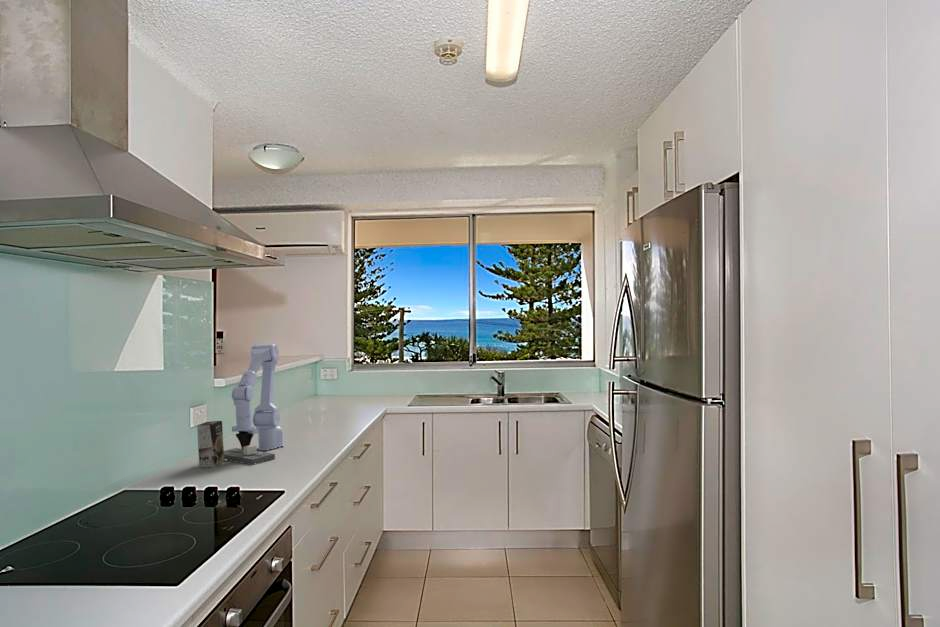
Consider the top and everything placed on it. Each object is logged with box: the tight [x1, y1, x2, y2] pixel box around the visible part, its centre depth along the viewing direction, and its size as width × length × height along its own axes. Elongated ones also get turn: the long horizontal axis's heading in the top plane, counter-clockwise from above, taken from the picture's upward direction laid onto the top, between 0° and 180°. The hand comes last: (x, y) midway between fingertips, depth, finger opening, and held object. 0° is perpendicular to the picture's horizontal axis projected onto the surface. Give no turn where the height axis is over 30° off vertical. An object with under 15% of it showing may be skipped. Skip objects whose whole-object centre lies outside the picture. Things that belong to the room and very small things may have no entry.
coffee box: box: [196, 420, 225, 468], centre depth 250 cm, size 9×6×16 cm
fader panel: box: [224, 447, 276, 465], centre depth 257 cm, size 10×26×2 cm, turn 53°
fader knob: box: [243, 444, 257, 455], centre depth 255 cm, size 4×3×3 cm
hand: (245, 450), depth 257 cm, fingers closed
